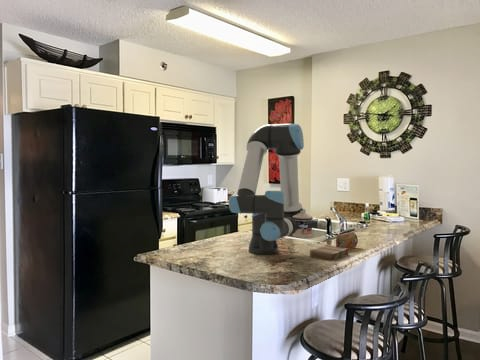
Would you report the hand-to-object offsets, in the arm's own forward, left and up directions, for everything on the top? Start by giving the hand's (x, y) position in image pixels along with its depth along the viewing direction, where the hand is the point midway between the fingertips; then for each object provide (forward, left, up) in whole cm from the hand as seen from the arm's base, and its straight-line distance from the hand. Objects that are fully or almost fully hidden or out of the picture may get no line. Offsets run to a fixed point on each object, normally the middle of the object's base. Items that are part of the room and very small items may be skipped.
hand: (307, 220), depth 181 cm
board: (-4, +13, -18) cm, 22 cm away
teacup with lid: (+3, -3, -7) cm, 8 cm away
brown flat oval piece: (-16, +28, -18) cm, 37 cm away
